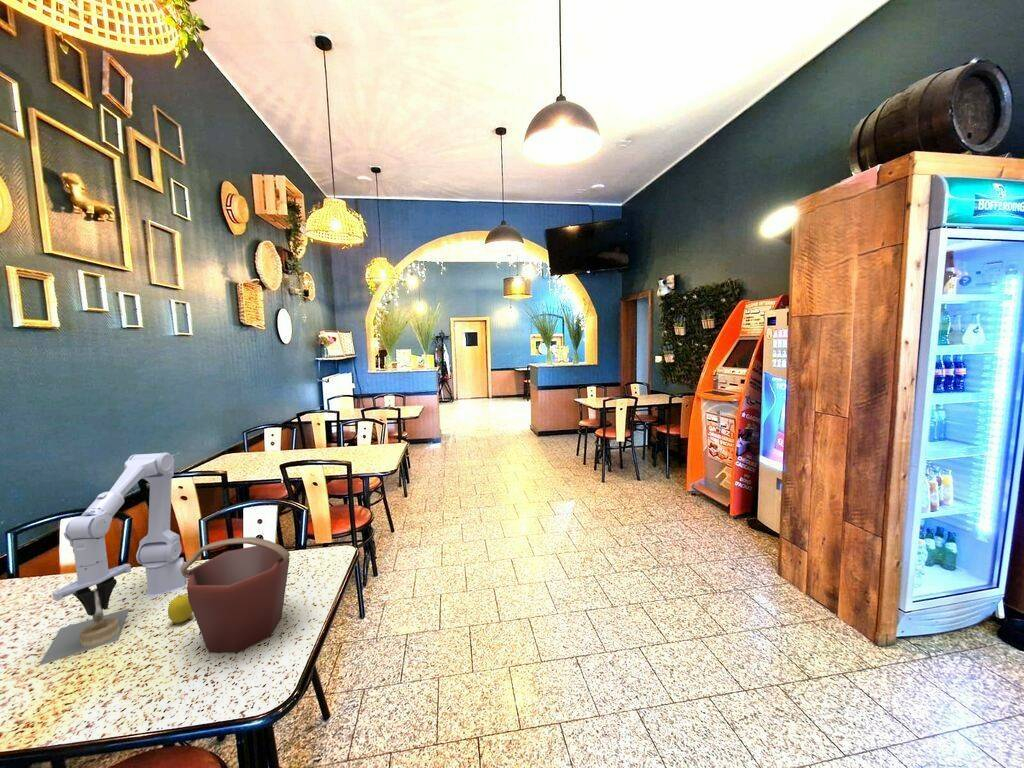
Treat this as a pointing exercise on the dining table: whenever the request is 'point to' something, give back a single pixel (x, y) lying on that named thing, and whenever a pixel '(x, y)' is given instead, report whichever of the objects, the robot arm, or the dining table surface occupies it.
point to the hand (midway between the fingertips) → (97, 611)
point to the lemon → (179, 609)
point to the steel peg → (97, 606)
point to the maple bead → (99, 632)
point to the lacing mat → (77, 638)
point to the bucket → (238, 593)
